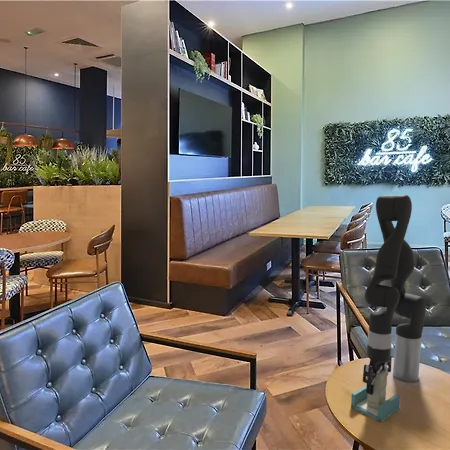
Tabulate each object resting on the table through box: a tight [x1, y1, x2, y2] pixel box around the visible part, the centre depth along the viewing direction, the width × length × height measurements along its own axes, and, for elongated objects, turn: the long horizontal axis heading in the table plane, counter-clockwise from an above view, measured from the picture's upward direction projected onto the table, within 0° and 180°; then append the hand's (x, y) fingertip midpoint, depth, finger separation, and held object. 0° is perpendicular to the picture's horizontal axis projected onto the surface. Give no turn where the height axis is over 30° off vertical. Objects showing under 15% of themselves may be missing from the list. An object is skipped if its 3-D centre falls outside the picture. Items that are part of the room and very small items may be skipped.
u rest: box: [350, 384, 401, 423], centre depth 141 cm, size 12×11×5 cm
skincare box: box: [367, 370, 388, 409], centre depth 141 cm, size 6×4×12 cm
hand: (376, 389), depth 141 cm, fingers open, 8 cm apart
